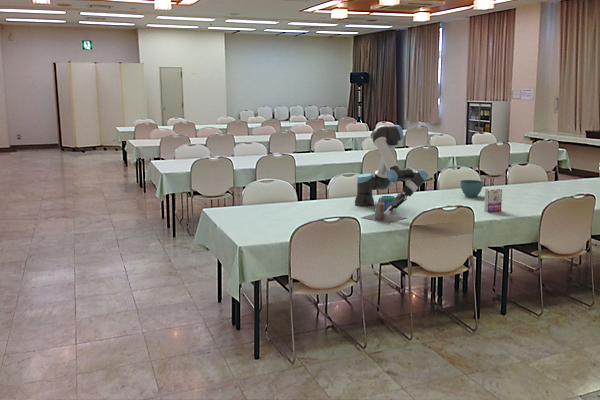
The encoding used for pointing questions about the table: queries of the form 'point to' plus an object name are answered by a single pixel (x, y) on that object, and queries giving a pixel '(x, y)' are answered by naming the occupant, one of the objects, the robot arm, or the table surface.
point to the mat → (385, 218)
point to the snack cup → (387, 201)
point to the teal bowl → (471, 187)
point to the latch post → (377, 210)
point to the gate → (381, 211)
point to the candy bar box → (493, 200)
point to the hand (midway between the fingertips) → (386, 213)
